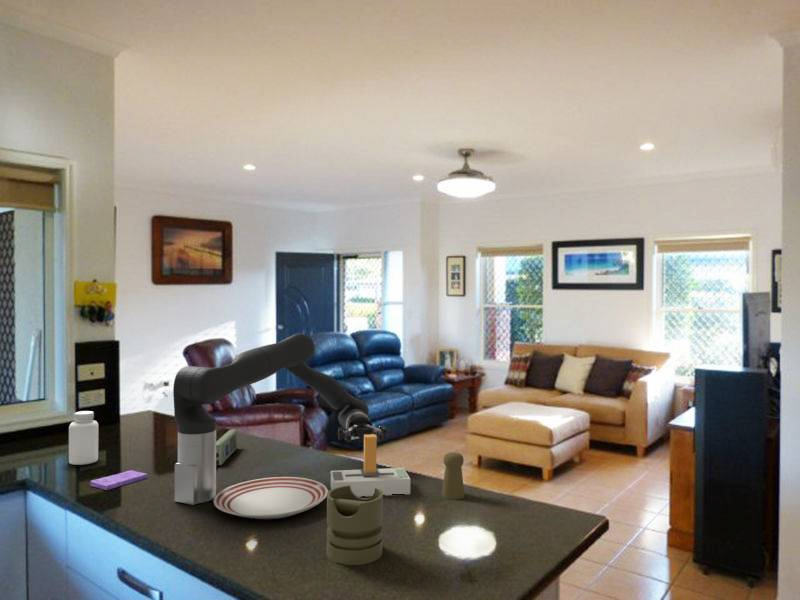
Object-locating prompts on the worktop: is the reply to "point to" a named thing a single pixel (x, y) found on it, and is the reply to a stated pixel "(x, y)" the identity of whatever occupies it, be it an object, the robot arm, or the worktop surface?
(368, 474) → the handle
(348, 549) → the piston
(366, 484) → the box
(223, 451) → the handheld radio
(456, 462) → the olive pawn figure
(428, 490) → the worktop surface
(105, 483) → the sponges
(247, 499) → the dinner plate
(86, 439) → the pill bottle
